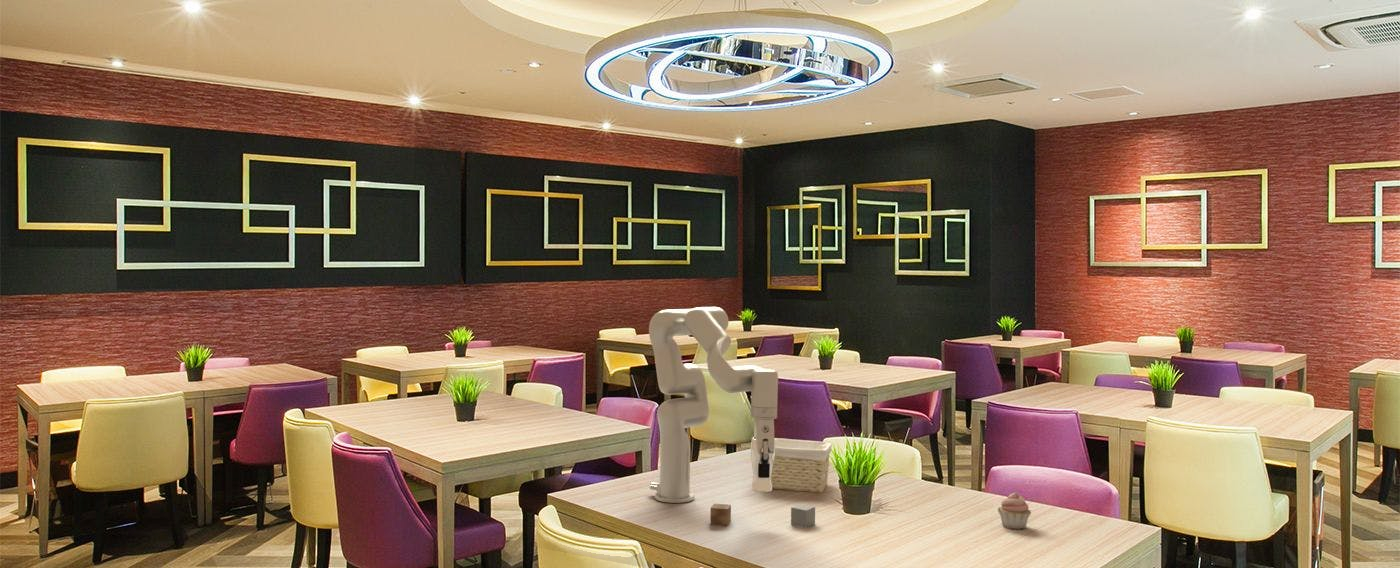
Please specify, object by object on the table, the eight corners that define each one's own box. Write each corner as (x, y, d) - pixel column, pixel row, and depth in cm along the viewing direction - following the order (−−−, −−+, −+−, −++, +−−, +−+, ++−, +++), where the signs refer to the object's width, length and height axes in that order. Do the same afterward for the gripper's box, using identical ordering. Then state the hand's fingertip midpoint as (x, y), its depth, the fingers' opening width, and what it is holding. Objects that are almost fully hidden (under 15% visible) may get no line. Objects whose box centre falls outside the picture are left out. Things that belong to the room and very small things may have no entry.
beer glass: (772, 493, 258) (773, 440, 258) (747, 491, 259) (749, 439, 259) (775, 487, 265) (776, 436, 264) (751, 485, 266) (752, 434, 266)
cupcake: (1014, 532, 257) (1015, 497, 256) (990, 524, 265) (990, 490, 265) (1038, 529, 261) (1039, 494, 261) (1013, 520, 269) (1014, 486, 269)
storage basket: (832, 484, 313) (832, 441, 313) (825, 495, 297) (826, 450, 297) (763, 478, 320) (764, 436, 319) (753, 489, 304) (754, 445, 304)
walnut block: (710, 525, 261) (710, 507, 261) (713, 520, 266) (714, 503, 265) (727, 526, 260) (727, 509, 259) (730, 521, 264) (730, 504, 264)
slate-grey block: (790, 524, 262) (791, 507, 262) (800, 521, 266) (800, 504, 266) (806, 527, 259) (806, 510, 259) (814, 524, 263) (815, 506, 263)
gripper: (781, 417, 253) (779, 482, 254) (773, 407, 270) (771, 467, 271) (754, 417, 253) (752, 481, 253) (747, 407, 270) (746, 467, 271)
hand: (762, 473), depth 262 cm, fingers closed on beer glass, 6 cm apart
